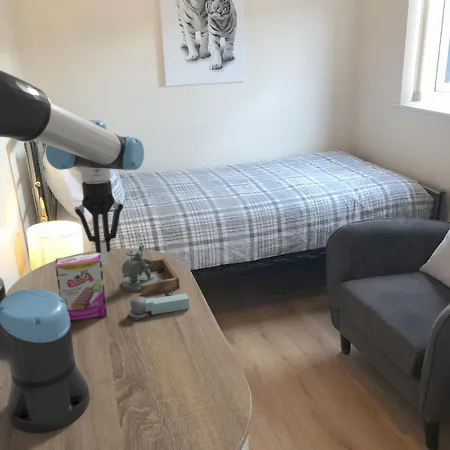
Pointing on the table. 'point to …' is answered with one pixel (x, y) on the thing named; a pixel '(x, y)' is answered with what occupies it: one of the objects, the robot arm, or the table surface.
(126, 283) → the figurine
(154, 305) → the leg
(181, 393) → the table surface
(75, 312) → the candy bar box
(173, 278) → the seat frame
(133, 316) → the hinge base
